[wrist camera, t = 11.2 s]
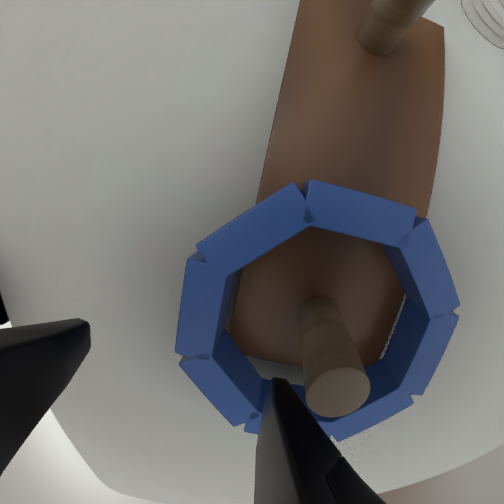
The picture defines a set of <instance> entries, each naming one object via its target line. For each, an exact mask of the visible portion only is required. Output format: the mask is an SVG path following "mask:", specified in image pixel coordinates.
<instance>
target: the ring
mask: <svg viewBox="0 0 504 504" xmlns="http://www.w3.org/2000/svg"><path fill="white" fill-rule="evenodd" d="M416 212H417V210H416V209H415V208H413V207H410V206H407V205H404V204H400V203H397V202H394V201H391V200H388V199H384V198H381V197H377V196H374V195H371V194H367V193H364V192H360V191H357V190H353V189H349V188H346V187H342V186H338V185H334V184H330V183H326V182H322V181H318V180H314V179H310V180H307V181H305V182H304V184H303V188H302V193H301V191H300V190H299V188H298V187H297V185H296V183H294V182H291V183H290V184H288V185H287V186H285V187H283V188H282V189H280V190H279V191H277V192H276V193H274V194H272V195H271V196H269V197H268V198H266V199H265V200H263V201H261V202H260V203H258V204H257V205H255V206H254V207H252V208H251V209H249V210H247V211H246V212H244V213H243V214H241V215H240V216H238V217H237V218H235V219H234V220H232V221H231V222H229V223H228V224H226V225H224V226H223V227H221V228H220V229H218V230H217V231H215V232H214V233H212V234H211V235H209V236H208V237H206V238H205V239H203V240H202V241H200V242H199V243H198V244H196V248H197V249H198V251H197V252H196V253H194V254H193V255H192V256H190V257H189V258H188V259H187V262H186V269H185V275H184V282H183V289H182V296H181V304H180V311H179V319H178V328H177V336H176V345H175V353H178V354H181V355H183V357H182V359H181V361H180V362H179V366H180V367H181V368H182V369H183V371H184V372H185V373H186V374H187V375H188V377H189V378H190V379H191V380H192V381H193V382H194V384H195V385H196V386H197V387H198V388H199V389H200V391H201V392H202V393H203V394H204V395H205V396H206V397H207V399H208V400H209V401H210V402H211V403H212V404H213V405H214V406H215V407H216V409H217V410H218V411H219V412H220V413H221V414H222V415H223V416H224V417H225V418H226V419H227V420H228V421H229V422H230V423H231V424H232V426H237V425H240V424H243V423H245V427H244V432H248V433H253V434H259V429H260V423H261V417H262V412H263V406H264V401H265V398H266V395H267V391H268V388H269V385H270V382H271V380H268V379H263V378H262V377H261V376H260V375H259V374H258V372H257V371H256V370H255V368H254V367H253V366H252V365H251V363H250V362H249V361H248V359H247V358H246V357H245V355H244V354H243V353H242V351H241V350H240V349H239V347H238V346H237V345H236V344H235V342H234V341H233V339H232V338H231V337H230V335H229V334H228V333H227V331H226V330H225V329H224V325H225V320H226V315H227V310H228V305H229V300H230V295H231V290H232V285H233V280H234V275H235V272H236V271H237V270H239V269H241V268H242V267H244V266H245V265H247V264H249V263H250V262H252V261H254V260H255V259H257V258H258V257H260V256H262V255H263V254H265V253H267V252H268V251H270V250H271V249H273V248H275V247H276V246H278V245H280V244H281V243H283V242H284V241H286V240H288V239H289V238H291V237H293V236H294V235H296V234H297V233H299V232H301V231H302V230H304V229H305V228H307V227H309V226H313V227H317V228H321V229H325V230H329V231H334V232H338V233H342V234H346V235H350V236H354V237H358V238H362V239H366V240H369V241H373V242H377V243H381V245H382V247H383V249H384V251H385V253H386V255H387V257H388V259H389V261H390V263H391V265H392V267H393V269H394V271H395V273H396V275H397V277H398V280H399V282H400V284H401V286H402V288H403V290H404V293H405V295H406V297H407V298H406V301H405V304H404V306H403V309H402V312H401V315H400V317H399V320H398V323H397V325H396V328H395V330H394V333H393V335H392V338H391V340H390V343H389V345H388V347H387V350H386V352H385V354H384V357H383V358H382V359H380V360H379V361H377V362H375V363H374V364H372V365H370V366H368V367H367V368H365V371H366V374H367V376H368V379H369V381H370V393H369V396H368V398H367V399H366V401H365V402H364V404H363V405H362V406H361V407H359V408H358V409H357V410H355V411H354V412H352V413H350V414H347V415H344V416H340V417H324V416H321V415H318V414H316V413H315V412H313V411H312V410H311V409H310V408H309V406H308V405H307V402H306V397H305V386H300V385H295V384H290V385H291V386H292V388H293V389H294V390H295V392H296V393H297V395H298V396H299V397H300V399H301V400H302V402H303V403H304V404H305V406H306V407H307V408H308V410H309V411H310V413H311V414H312V415H313V417H314V418H315V419H316V421H317V422H318V423H319V425H320V426H321V428H322V429H323V430H324V432H325V433H326V434H327V436H328V437H329V438H330V436H331V435H332V436H333V437H334V438H335V439H336V441H337V442H339V441H342V440H344V439H346V438H348V437H351V436H353V435H355V434H357V433H359V432H361V431H364V430H366V429H368V428H370V427H372V426H374V425H376V424H378V423H380V422H382V421H383V420H385V419H387V418H389V417H391V416H393V415H395V414H396V413H398V412H400V411H402V410H403V409H405V408H407V407H409V406H410V405H412V404H413V403H414V402H413V400H412V398H411V395H422V394H423V393H424V391H425V389H426V387H427V385H428V384H429V382H430V380H431V378H432V376H433V374H434V372H435V370H436V368H437V366H438V364H439V362H440V360H441V358H442V356H443V354H444V352H445V349H446V347H447V345H448V343H449V341H450V338H451V336H452V334H453V331H454V329H455V327H456V324H457V322H458V319H459V316H458V315H456V314H455V313H454V312H453V310H454V309H456V308H457V307H458V306H459V305H460V302H459V299H458V296H457V293H456V290H455V287H454V284H453V281H452V278H451V275H450V273H449V270H448V267H447V264H446V262H445V259H444V257H443V254H442V252H441V249H440V247H439V244H438V242H437V239H436V237H435V235H434V232H433V230H432V228H431V225H430V223H429V221H428V219H426V218H422V217H418V216H416Z"/></svg>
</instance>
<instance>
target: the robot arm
mask: <svg viewBox="0 0 504 504" xmlns="http://www.w3.org/2000/svg"><path fill="white" fill-rule="evenodd" d="M0 313H2V305H1V296H0ZM90 347H91V337H90V325H89V323H88V322H87V321H84V320H82V319H79V318H75V319H69V320H62V321H55V322H48V323H41V324H34V325H27V326H19V327H12V328H4V329H0V476H1V475H2V473H3V471H4V470H5V468H6V467H7V465H8V464H9V463H10V461H11V460H12V458H13V457H14V455H15V454H16V452H17V451H18V450H19V448H20V447H21V446H22V444H23V443H24V441H25V440H26V439H27V437H28V436H29V435H30V433H31V432H32V430H33V429H34V428H35V426H36V425H37V424H38V422H39V421H40V420H41V418H42V417H43V416H44V414H45V413H46V412H47V411H48V409H49V408H50V407H51V405H52V404H53V403H54V402H55V400H56V399H57V398H58V396H59V395H60V394H61V393H62V391H63V390H64V389H65V388H66V386H67V385H68V383H69V382H70V381H71V379H72V377H73V376H74V374H75V373H76V371H77V369H78V368H79V366H80V365H81V363H82V362H83V360H84V358H85V357H86V355H87V354H88V352H89V350H90ZM341 456H342V454H341V453H340V452H339V450H338V449H337V448H336V446H335V445H334V444H333V442H332V441H331V440H330V438H329V437H328V436H327V434H326V433H325V432H324V430H323V429H322V428H321V426H320V425H319V423H318V422H317V421H316V419H315V418H314V417H313V415H312V414H311V413H310V411H309V410H308V408H307V407H306V406H305V404H304V403H303V402H302V400H301V399H300V397H299V396H298V395H297V393H296V392H295V390H294V389H293V388H292V386H291V385H290V383H289V382H288V381H287V380H286V379H282V378H276V377H273V378H272V379H271V382H270V385H269V388H268V391H267V395H266V398H265V401H264V406H263V412H262V417H261V423H260V429H259V434H258V440H257V446H256V465H255V491H254V504H386V503H385V502H384V501H383V500H382V499H381V498H380V497H379V496H378V495H377V494H376V493H375V492H374V491H373V490H372V489H371V488H370V487H369V486H368V485H367V484H366V483H365V482H364V481H363V480H362V479H361V478H360V476H359V475H358V474H357V473H356V472H355V470H354V469H353V468H352V467H351V466H350V464H349V463H348V462H347V460H346V459H345V458H344V457H343V456H342V457H341Z"/></svg>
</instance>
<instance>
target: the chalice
mask: <svg viewBox="0 0 504 504" xmlns="http://www.w3.org/2000/svg"><path fill="white" fill-rule="evenodd" d="M461 2H462V7H463V9H464V11H465V13H466V15H467V17H468V18H469V20H470V21H471V23H472V24H473V25H474V26H475V28H476V29H477V30H478V31H479V32H480V33H481V34H482V35H483V36H484V37H485V38H486V39H487V40H488V41H490V42H491V43H493V44H494V45H496V46H497V47H500V48H503V49H504V0H461Z"/></svg>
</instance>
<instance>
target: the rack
mask: <svg viewBox="0 0 504 504" xmlns="http://www.w3.org/2000/svg"><path fill="white" fill-rule="evenodd" d="M434 1H435V0H300V4H299V8H298V13H297V17H296V22H295V26H294V30H293V35H292V39H291V44H290V48H289V53H288V58H287V62H286V67H285V71H284V76H283V80H282V85H281V89H280V94H279V99H278V103H277V108H276V112H275V117H274V121H273V126H272V131H271V135H270V140H269V145H268V149H267V154H266V159H265V163H264V168H263V173H262V177H261V182H260V187H259V191H258V196H257V201H256V205H257V204H258V203H260V202H261V201H263V200H265V199H266V198H268V197H269V196H271V195H272V194H274V193H276V192H277V191H279V190H280V189H282V188H283V187H285V186H287V185H288V184H290V183H291V182H294V183H296V185H297V187H298V188H299V190H300V191H301V193H302V188H303V184H304V182H305V181H307V180H310V179H314V180H318V181H322V182H326V183H330V184H334V185H338V186H342V187H346V188H349V189H353V190H357V191H360V192H364V193H367V194H371V195H374V196H377V197H381V198H384V199H388V200H391V201H394V202H397V203H400V204H404V205H407V206H410V207H413V208H415V209H416V210H417V212H416V216H418V217H422V218H426V216H427V212H428V207H429V202H430V198H431V193H432V187H433V182H434V176H435V171H436V164H437V158H438V151H439V143H440V135H441V125H442V115H443V101H444V80H445V43H444V27H442V26H440V25H438V24H436V23H434V22H432V21H430V20H428V19H425V18H423V17H421V16H422V15H423V14H424V13H425V12H426V10H427V9H428V8H429V7H430V6H431V4H432V3H433V2H434ZM404 294H405V293H404V290H403V288H402V286H401V284H400V282H399V280H398V277H397V275H396V273H395V271H394V269H393V267H392V265H391V263H390V261H389V259H388V257H387V255H386V253H385V251H384V249H383V247H382V245H381V243H377V242H373V241H369V240H366V239H362V238H358V237H354V236H350V235H346V234H342V233H338V232H334V231H329V230H325V229H321V228H317V227H313V226H309V227H307V228H305V229H304V230H302V231H301V232H299V233H297V234H296V235H294V236H293V237H291V238H289V239H288V240H286V241H284V242H283V243H281V244H280V245H278V246H276V247H275V248H273V249H271V250H270V251H268V252H267V253H265V254H263V255H262V256H260V257H258V258H257V259H255V260H254V261H252V262H250V263H249V264H247V265H245V266H244V267H242V272H241V277H240V282H239V287H238V291H237V296H236V301H235V306H234V311H233V316H232V320H231V325H230V330H229V335H230V337H231V338H232V339H233V341H234V342H235V344H236V345H237V346H238V347H239V349H240V350H241V351H242V353H243V354H244V355H246V356H250V357H255V358H259V359H264V360H269V361H273V362H278V363H283V364H289V365H294V366H299V367H303V374H304V385H305V397H306V402H307V405H308V406H309V408H310V409H311V410H312V411H313V412H315V413H316V414H318V415H321V416H324V417H340V416H344V415H347V414H350V413H352V412H354V411H355V410H357V409H358V408H359V407H361V406H362V405H363V404H364V402H365V401H366V399H367V398H368V396H369V393H370V381H369V379H368V376H367V374H366V371H365V368H367V367H368V366H370V365H372V364H374V363H375V362H377V361H379V358H380V356H381V354H382V351H383V349H384V347H385V344H386V342H387V339H388V337H389V334H390V332H391V329H392V327H393V324H394V322H395V319H396V316H397V314H398V311H399V308H400V305H401V302H402V300H403V297H404Z"/></svg>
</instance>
